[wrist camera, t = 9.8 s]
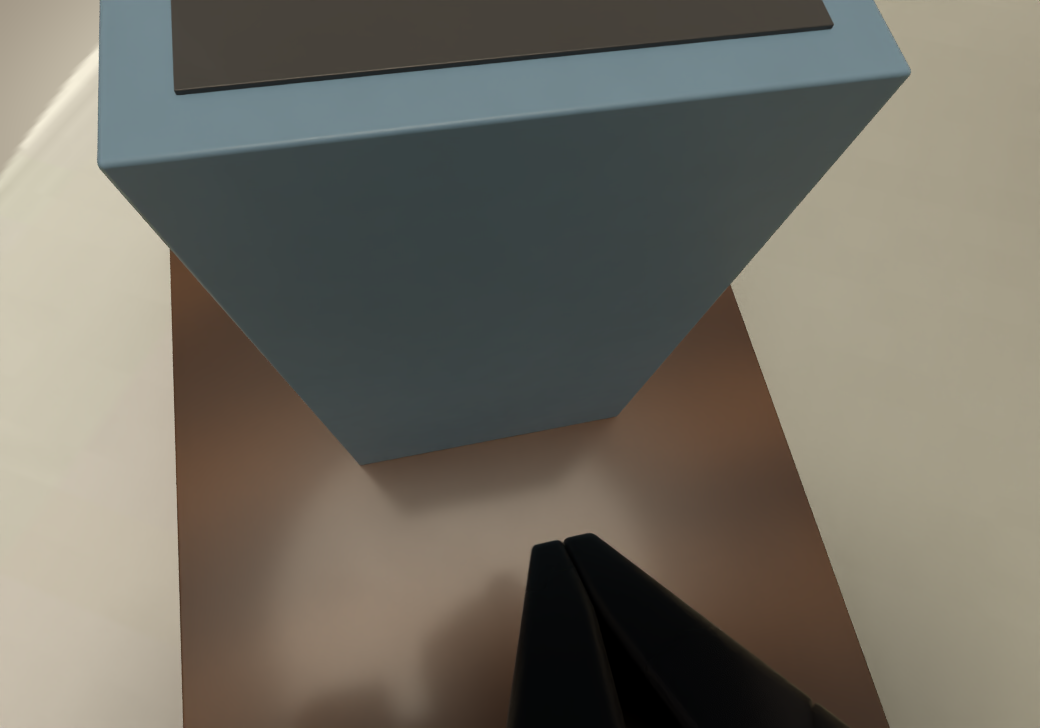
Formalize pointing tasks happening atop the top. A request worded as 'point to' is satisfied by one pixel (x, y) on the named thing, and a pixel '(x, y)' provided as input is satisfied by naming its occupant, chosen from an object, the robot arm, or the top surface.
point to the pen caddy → (476, 184)
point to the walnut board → (475, 538)
